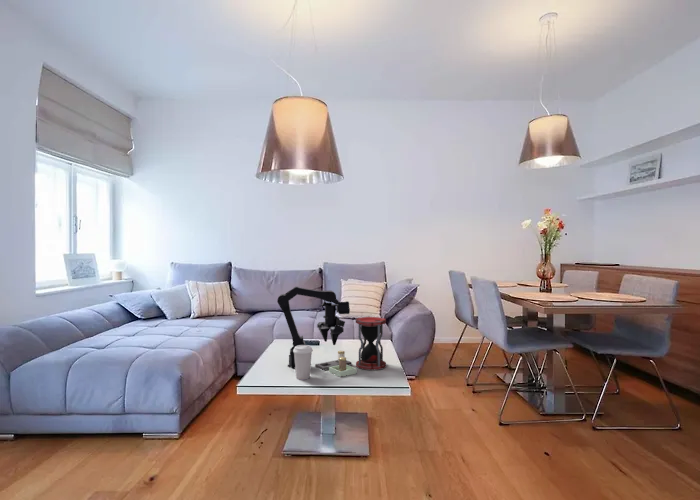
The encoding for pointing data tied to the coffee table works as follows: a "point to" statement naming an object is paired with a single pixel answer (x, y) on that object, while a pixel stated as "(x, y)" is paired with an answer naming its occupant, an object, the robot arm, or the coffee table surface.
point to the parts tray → (348, 371)
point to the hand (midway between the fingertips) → (329, 343)
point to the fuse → (341, 354)
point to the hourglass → (370, 343)
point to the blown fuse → (342, 363)
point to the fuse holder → (329, 364)
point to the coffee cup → (302, 361)
